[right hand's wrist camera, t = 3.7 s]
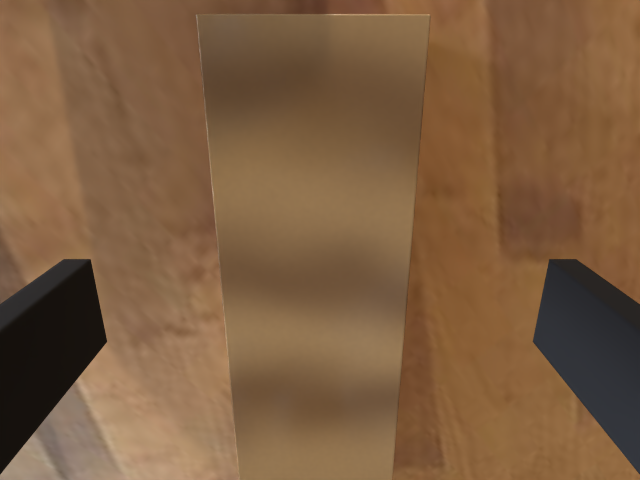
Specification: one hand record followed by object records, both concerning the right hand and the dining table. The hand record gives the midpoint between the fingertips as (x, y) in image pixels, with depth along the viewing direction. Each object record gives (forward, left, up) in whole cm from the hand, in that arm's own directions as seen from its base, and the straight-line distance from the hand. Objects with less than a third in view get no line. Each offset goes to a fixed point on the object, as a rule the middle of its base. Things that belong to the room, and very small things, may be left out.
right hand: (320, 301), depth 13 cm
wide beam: (+2, -19, -14) cm, 23 cm away
